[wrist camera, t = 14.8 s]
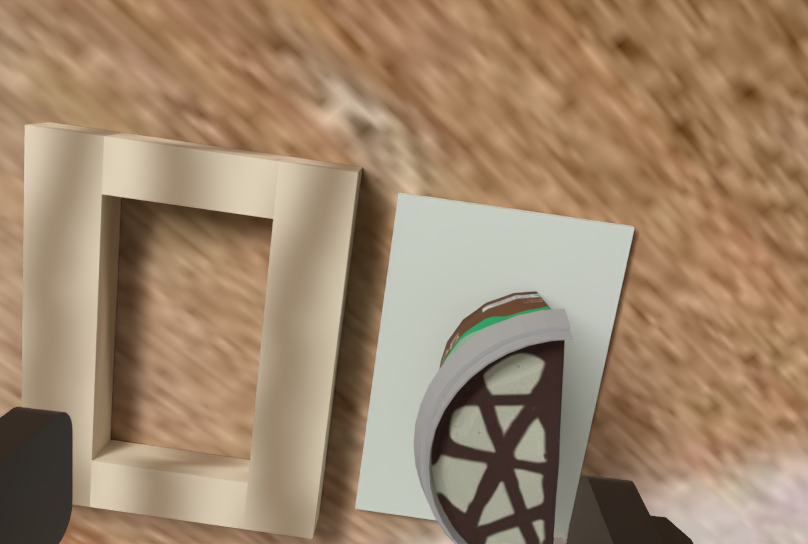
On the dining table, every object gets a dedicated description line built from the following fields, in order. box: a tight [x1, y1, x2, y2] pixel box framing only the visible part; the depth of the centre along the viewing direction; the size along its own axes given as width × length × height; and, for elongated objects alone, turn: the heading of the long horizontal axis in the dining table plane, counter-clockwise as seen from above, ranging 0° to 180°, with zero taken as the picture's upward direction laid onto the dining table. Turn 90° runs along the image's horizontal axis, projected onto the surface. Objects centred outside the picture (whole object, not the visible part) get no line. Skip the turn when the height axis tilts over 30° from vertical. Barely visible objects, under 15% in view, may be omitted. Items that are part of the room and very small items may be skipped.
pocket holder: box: [22, 122, 363, 539], centre depth 39 cm, size 16×20×2 cm
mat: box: [355, 192, 634, 539], centre depth 40 cm, size 12×18×1 cm, turn 172°
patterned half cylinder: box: [414, 291, 573, 544], centre depth 35 cm, size 12×6×10 cm, turn 0°
